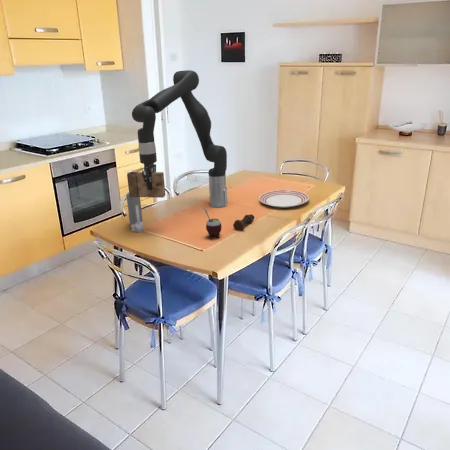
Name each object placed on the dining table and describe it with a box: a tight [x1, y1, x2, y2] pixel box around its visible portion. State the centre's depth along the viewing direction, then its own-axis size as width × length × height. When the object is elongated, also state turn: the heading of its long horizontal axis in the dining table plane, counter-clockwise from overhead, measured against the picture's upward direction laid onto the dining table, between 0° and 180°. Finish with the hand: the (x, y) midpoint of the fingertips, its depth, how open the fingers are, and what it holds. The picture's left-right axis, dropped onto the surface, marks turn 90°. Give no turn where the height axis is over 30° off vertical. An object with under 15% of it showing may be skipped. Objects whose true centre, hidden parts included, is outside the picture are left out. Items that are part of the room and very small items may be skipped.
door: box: [126, 171, 166, 199], centre depth 198 cm, size 16×5×11 cm, turn 81°
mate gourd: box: [199, 206, 222, 240], centre depth 195 cm, size 8×8×15 cm
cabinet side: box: [125, 192, 144, 233], centre depth 210 cm, size 7×15×18 cm, turn 171°
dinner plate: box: [258, 189, 310, 209], centre depth 239 cm, size 28×27×3 cm
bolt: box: [232, 214, 255, 232], centre depth 209 cm, size 6×5×15 cm
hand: (151, 188), depth 199 cm, fingers closed on door, 3 cm apart
